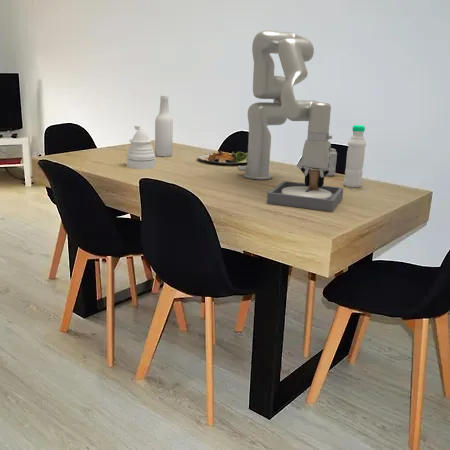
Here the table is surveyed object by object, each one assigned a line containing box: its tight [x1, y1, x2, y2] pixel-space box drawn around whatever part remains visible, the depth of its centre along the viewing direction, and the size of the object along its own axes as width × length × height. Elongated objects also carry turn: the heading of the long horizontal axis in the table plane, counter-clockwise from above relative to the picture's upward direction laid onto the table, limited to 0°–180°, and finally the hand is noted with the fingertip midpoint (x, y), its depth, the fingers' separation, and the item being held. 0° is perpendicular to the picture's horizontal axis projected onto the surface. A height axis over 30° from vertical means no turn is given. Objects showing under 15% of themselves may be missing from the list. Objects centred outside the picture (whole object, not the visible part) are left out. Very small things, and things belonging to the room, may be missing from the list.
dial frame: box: [266, 180, 344, 212], centre depth 201 cm, size 23×23×6 cm
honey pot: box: [126, 125, 156, 170], centre depth 249 cm, size 13×13×18 cm
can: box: [318, 147, 338, 177], centre depth 248 cm, size 8×8×12 cm
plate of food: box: [197, 150, 248, 165], centre depth 272 cm, size 28×28×6 cm
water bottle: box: [343, 124, 367, 189], centre depth 225 cm, size 7×7×25 cm
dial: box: [282, 168, 332, 200], centre depth 200 cm, size 18×18×8 cm
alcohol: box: [154, 94, 174, 157], centre depth 276 cm, size 9×9×30 cm
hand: (313, 186), depth 205 cm, fingers closed on dial, 4 cm apart
